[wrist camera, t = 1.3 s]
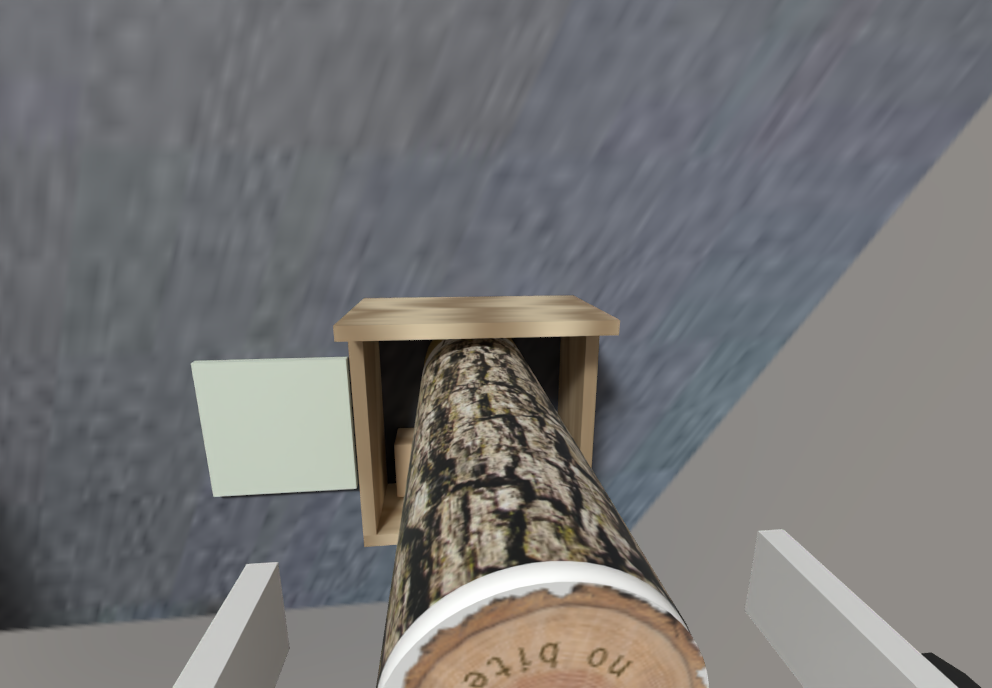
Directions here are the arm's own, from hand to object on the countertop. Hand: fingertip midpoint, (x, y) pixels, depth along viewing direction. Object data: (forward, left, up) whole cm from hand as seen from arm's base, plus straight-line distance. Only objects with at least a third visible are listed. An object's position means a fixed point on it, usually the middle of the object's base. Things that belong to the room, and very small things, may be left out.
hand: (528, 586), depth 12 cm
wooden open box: (0, -3, -21) cm, 22 cm away
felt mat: (-14, -4, -21) cm, 26 cm away
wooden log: (0, 0, -22) cm, 22 cm away
